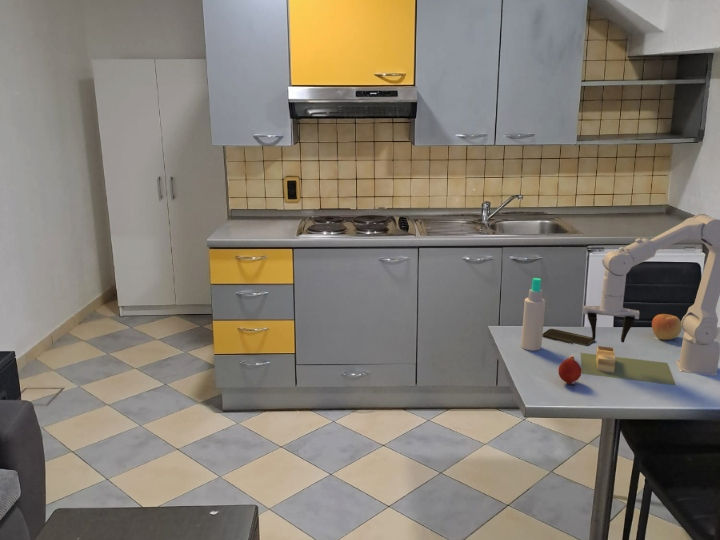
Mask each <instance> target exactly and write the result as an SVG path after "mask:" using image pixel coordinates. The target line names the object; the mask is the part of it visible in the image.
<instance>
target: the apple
mask: <svg viewBox="0 0 720 540" xmlns="http://www.w3.org/2000/svg"><path fill="white" fill-rule="evenodd" d="M681 321H682V320H681V319H680V318H679V317H677V316H675V315H672V314H667V313H661V314H660V313H659V314H657V315H655V316H654V317H653V318H652V321H651V328H652V331H653V334H654V335H655V337H657V338H658V339H660V340H664V341H666V340H673V339H675V338H677V337H678V336H679V335H680V334H681V332H682V327H681Z"/></svg>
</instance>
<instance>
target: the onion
mask: <svg viewBox="0 0 720 540" xmlns="http://www.w3.org/2000/svg"><path fill="white" fill-rule="evenodd" d="M557 373H558V375H559V378H560V379H561V380H562V381H563V382H564V383H566V384H568V385H572V384H573V383H574V382H576V381H578V380H579V379H580V377H581V376H582V370H581V364H579V363H578V361H576V359H575V356H574V355H570V356H569V357H568V358H566V359H564V360H563V361H562V362H561V363H560V364H559V366H558V372H557Z"/></svg>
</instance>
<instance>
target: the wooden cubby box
mask: <svg viewBox="0 0 720 540" xmlns="http://www.w3.org/2000/svg"><path fill="white" fill-rule="evenodd" d="M614 349H615V348H614V347H608V346H600V345H597V349H596V362H597V371H605V372H613V373H614V368H615V357H616V355H615V350H614Z"/></svg>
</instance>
